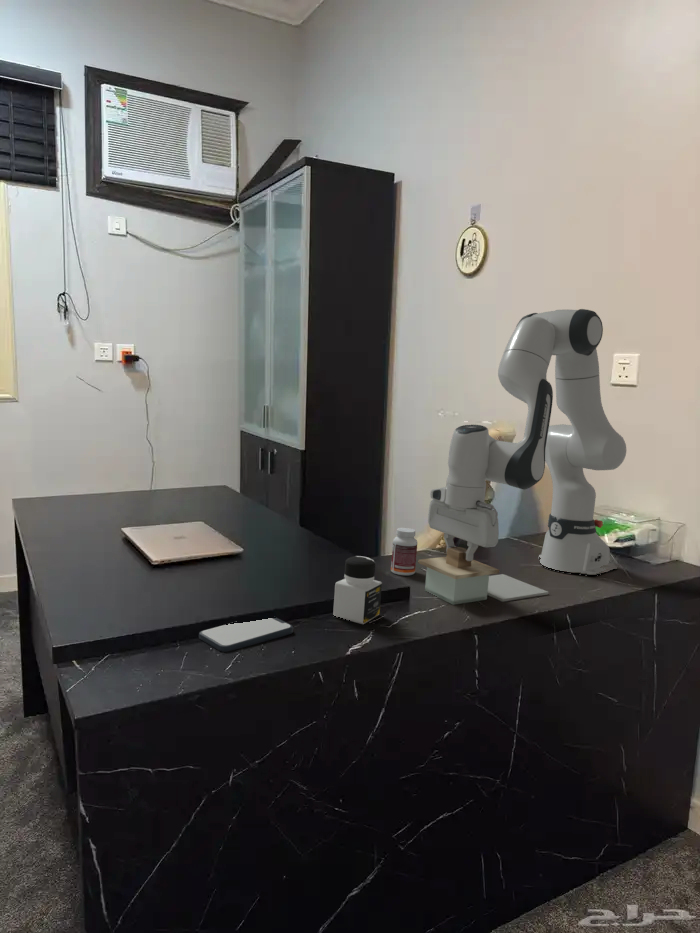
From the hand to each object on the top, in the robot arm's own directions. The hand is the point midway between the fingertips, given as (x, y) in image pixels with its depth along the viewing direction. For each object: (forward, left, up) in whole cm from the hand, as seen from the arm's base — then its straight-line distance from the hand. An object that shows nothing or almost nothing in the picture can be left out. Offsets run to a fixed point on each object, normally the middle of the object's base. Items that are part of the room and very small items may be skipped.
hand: (459, 556), depth 154 cm
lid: (0, 0, -3) cm, 3 cm away
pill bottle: (+1, -19, -9) cm, 21 cm away
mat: (-15, 0, -9) cm, 17 cm away
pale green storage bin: (0, 0, -9) cm, 9 cm away
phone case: (+53, +4, -10) cm, 54 cm away
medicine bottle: (+29, +3, -9) cm, 31 cm away
